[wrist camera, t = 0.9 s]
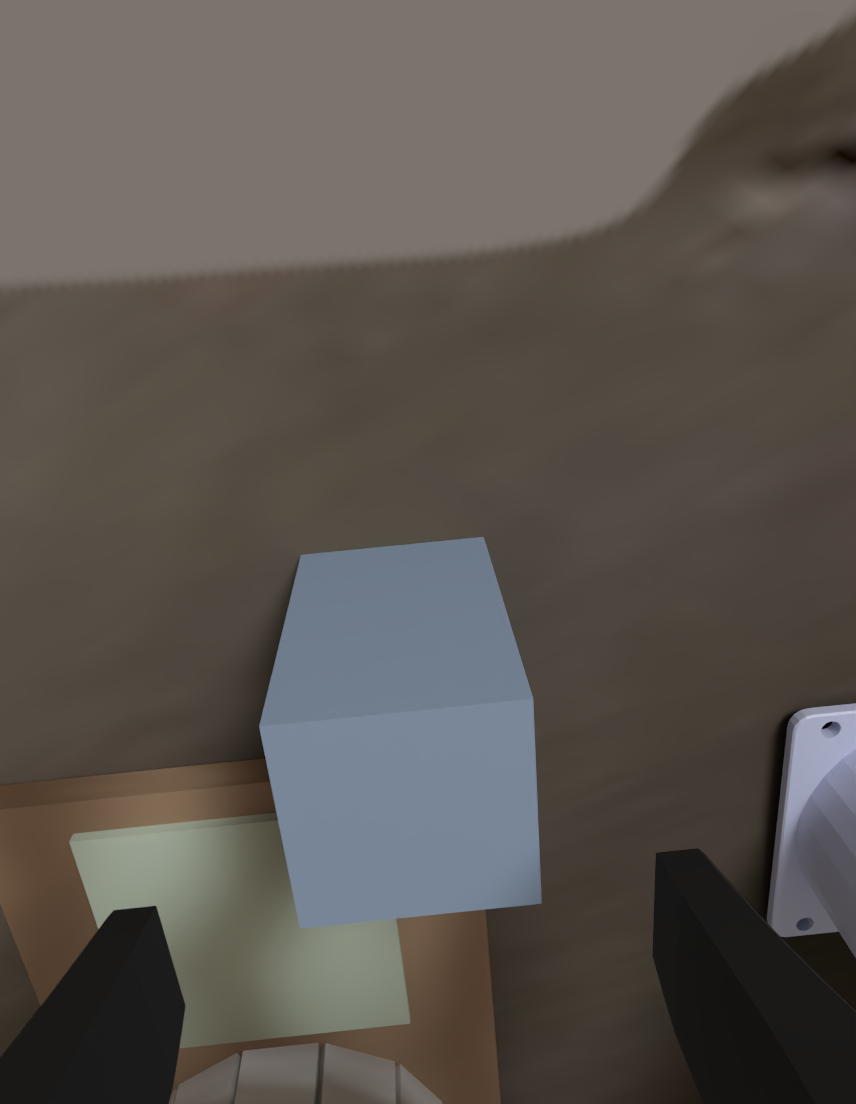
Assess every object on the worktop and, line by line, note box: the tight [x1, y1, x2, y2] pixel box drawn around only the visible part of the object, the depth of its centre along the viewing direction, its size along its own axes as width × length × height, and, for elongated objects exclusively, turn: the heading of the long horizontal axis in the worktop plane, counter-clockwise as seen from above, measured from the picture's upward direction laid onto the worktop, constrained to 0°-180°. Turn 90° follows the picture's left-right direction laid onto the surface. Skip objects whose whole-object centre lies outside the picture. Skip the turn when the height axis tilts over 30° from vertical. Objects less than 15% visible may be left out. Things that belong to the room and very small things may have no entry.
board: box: [0, 758, 501, 1104], centre depth 24 cm, size 13×20×4 cm, turn 5°
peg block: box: [259, 537, 541, 929], centre depth 17 cm, size 4×4×7 cm
